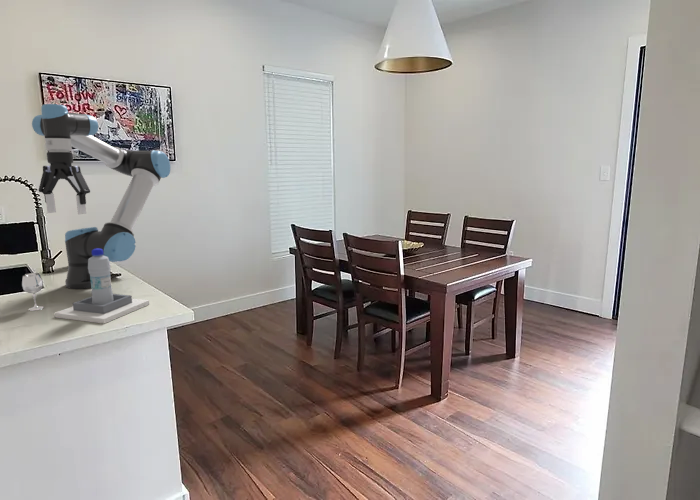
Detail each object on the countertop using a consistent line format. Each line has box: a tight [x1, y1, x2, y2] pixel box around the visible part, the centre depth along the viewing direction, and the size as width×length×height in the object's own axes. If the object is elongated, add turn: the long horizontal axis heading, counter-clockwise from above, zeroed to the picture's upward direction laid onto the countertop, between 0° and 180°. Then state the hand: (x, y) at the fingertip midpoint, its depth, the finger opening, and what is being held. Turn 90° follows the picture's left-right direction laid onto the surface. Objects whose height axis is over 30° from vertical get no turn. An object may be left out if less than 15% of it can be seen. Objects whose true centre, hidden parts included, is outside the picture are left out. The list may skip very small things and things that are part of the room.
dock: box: [53, 293, 150, 324], centre depth 153 cm, size 20×20×4 cm
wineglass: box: [21, 272, 45, 312], centre depth 154 cm, size 6×6×12 cm
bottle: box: [88, 248, 114, 305], centre depth 151 cm, size 7×7×20 cm
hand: (66, 213), depth 159 cm, fingers open, 13 cm apart
